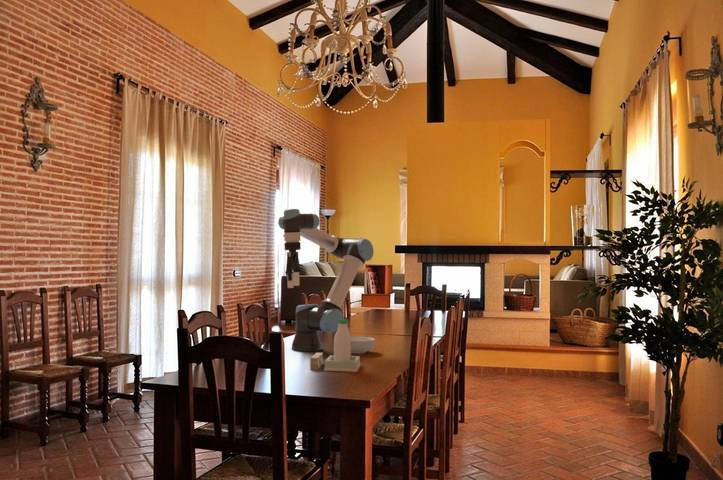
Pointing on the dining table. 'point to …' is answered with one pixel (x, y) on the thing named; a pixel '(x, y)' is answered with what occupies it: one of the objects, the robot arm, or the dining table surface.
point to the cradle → (342, 364)
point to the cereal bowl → (362, 344)
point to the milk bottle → (342, 342)
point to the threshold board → (316, 361)
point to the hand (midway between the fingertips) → (293, 286)
